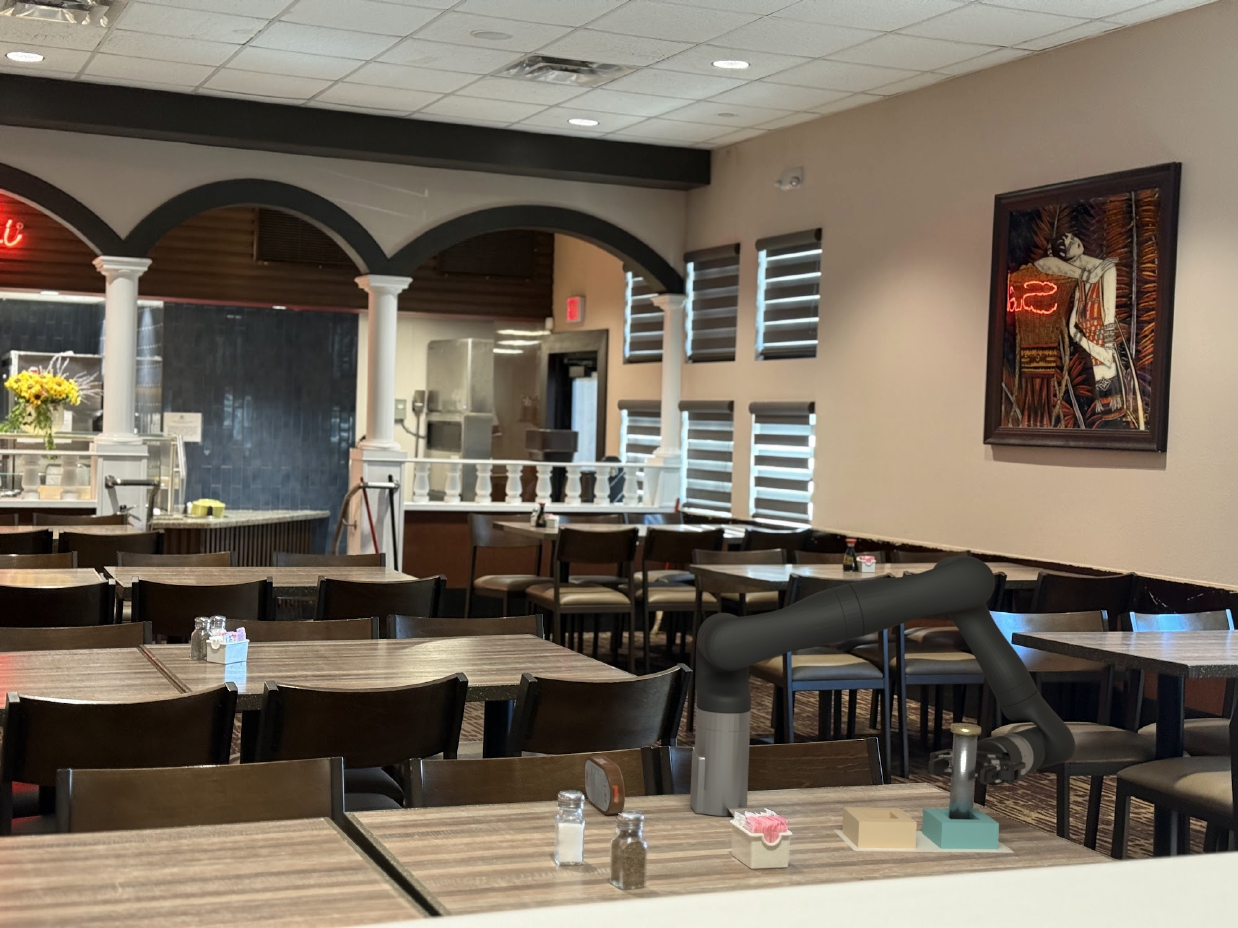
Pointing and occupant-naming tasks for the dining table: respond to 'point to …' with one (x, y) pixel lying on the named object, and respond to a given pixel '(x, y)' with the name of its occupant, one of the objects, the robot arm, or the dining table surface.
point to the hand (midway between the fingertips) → (956, 772)
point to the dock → (899, 831)
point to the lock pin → (963, 770)
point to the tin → (604, 785)
